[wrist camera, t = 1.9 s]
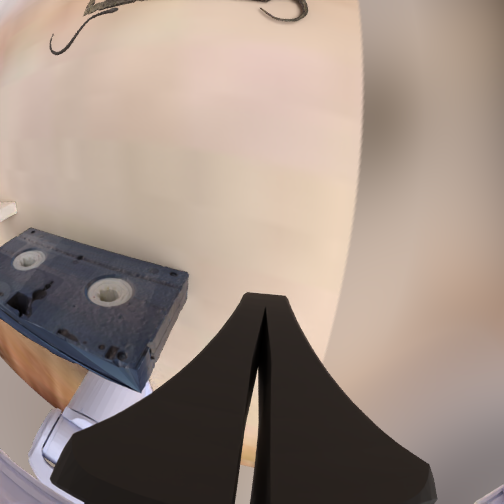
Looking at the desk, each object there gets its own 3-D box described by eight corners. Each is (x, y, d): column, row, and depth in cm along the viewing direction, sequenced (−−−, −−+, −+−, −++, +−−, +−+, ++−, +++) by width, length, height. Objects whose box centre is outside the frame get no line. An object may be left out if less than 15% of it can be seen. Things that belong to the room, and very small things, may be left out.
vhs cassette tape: (33, 247, 21) (-30, 296, 13) (30, 222, 20) (-39, 267, 11) (188, 302, 22) (143, 399, 13) (192, 272, 21) (140, 370, 12)
